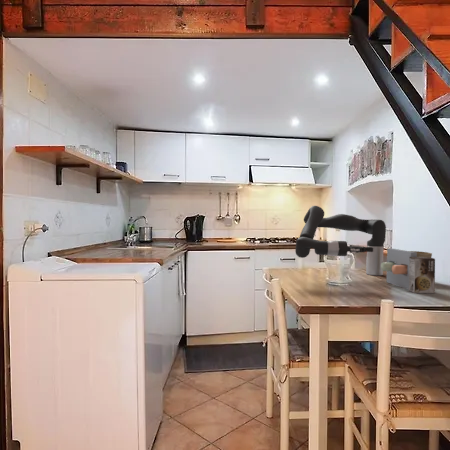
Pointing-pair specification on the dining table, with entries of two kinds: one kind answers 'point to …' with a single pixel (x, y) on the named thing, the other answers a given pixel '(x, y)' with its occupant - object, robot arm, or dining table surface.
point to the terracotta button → (399, 269)
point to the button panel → (400, 259)
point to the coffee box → (422, 274)
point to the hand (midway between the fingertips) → (372, 249)
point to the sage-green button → (387, 266)
